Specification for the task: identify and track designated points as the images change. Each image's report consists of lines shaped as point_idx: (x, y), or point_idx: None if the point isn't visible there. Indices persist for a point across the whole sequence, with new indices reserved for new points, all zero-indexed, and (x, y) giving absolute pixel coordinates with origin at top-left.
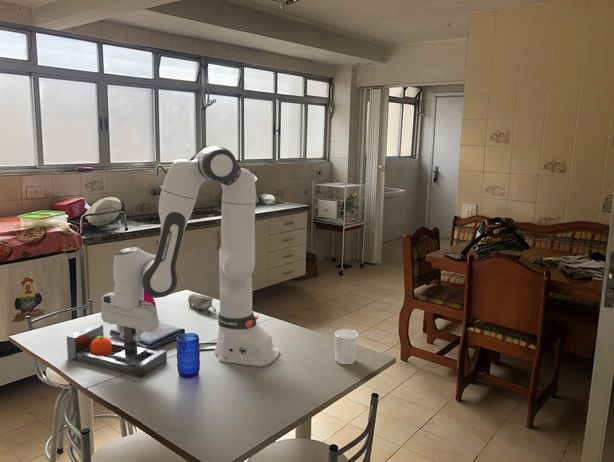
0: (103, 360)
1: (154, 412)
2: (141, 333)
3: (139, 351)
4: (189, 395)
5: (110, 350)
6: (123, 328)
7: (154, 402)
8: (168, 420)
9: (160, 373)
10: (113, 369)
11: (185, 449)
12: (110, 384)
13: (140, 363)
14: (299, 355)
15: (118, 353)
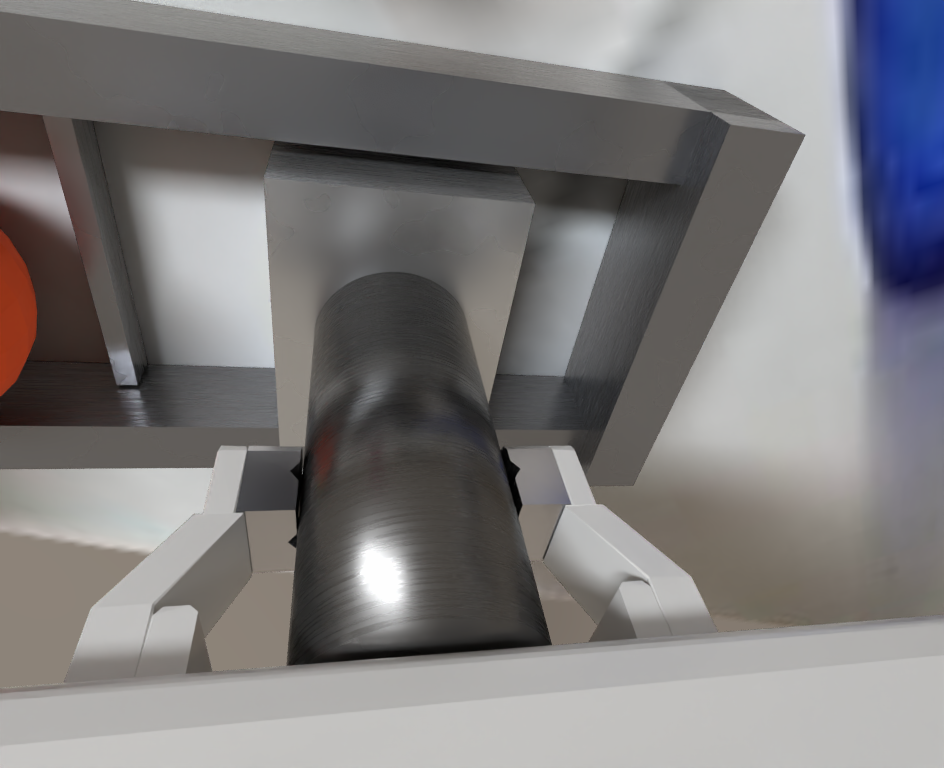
0: (201, 460)
1: (770, 578)
2: (628, 540)
3: (480, 295)
4: (933, 446)
5: (15, 267)
6: (196, 571)
7: (754, 539)
8: (835, 587)
9: None
10: None
11: None
12: None
13: (608, 458)
14: None
15: (285, 412)
